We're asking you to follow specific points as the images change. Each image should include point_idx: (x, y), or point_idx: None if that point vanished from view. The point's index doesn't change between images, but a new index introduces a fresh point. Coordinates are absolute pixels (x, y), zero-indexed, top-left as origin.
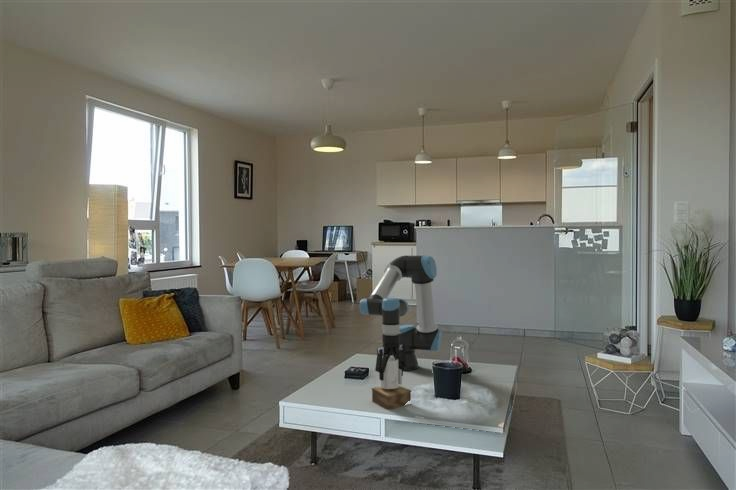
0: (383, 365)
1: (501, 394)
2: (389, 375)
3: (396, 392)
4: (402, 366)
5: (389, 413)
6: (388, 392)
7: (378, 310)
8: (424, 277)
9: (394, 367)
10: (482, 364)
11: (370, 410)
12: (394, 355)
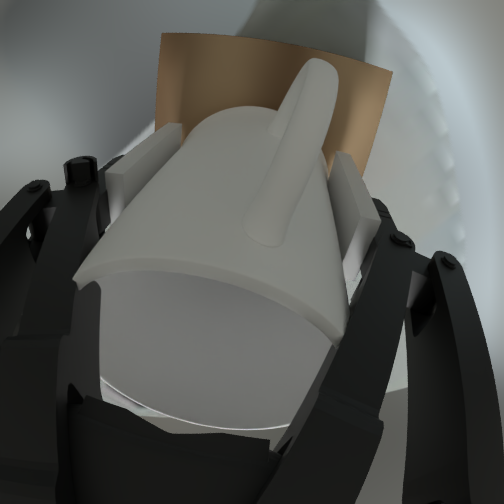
0: (404, 303)
1: None
2: (309, 178)
3: (287, 69)
4: (71, 191)
5: (400, 32)
6: (332, 115)
7: None
8: None
9: (315, 130)
10: None
11: (427, 138)
12: (91, 387)
